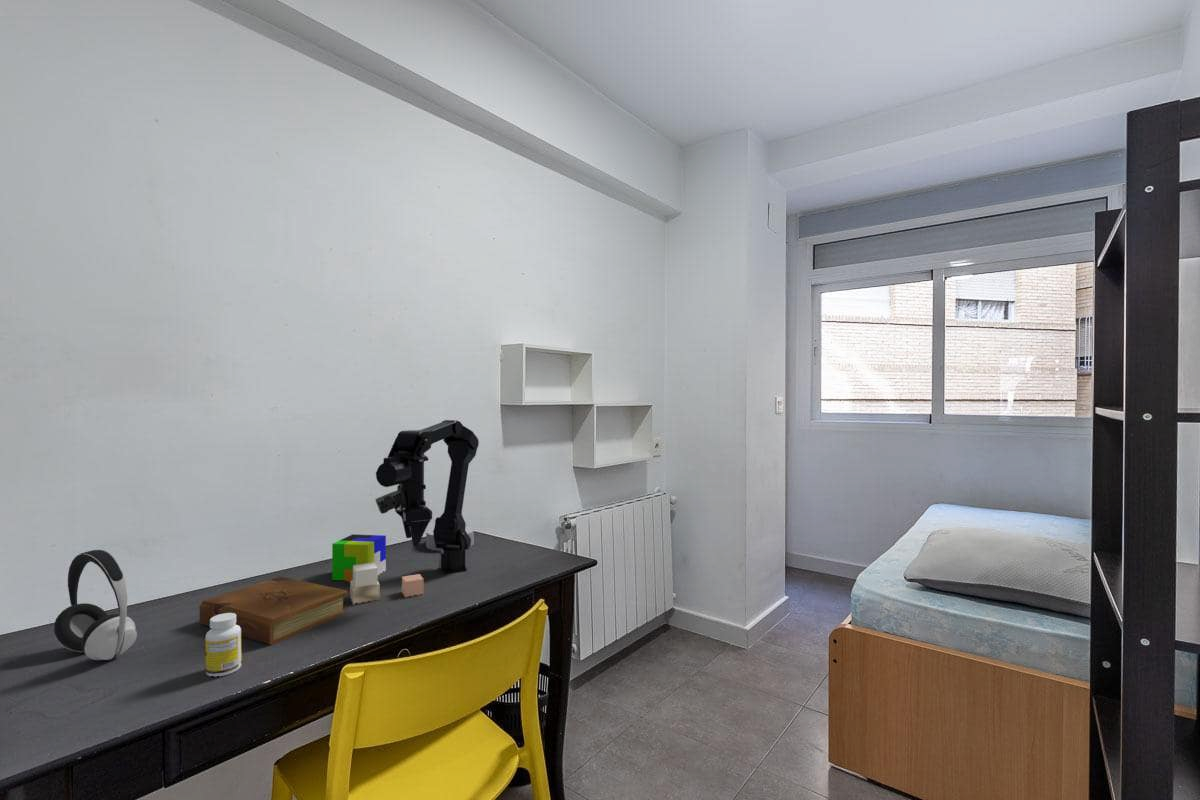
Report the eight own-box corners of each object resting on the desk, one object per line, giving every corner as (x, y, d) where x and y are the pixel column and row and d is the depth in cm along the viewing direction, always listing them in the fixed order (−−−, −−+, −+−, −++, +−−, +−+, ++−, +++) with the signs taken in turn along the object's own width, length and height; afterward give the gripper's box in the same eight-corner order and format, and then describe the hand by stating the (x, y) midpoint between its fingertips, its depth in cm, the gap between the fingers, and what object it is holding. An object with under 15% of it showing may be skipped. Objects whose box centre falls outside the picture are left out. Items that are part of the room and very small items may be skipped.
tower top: (374, 578, 141) (374, 562, 141) (377, 584, 137) (377, 567, 137) (352, 581, 138) (352, 565, 138) (355, 587, 134) (355, 571, 134)
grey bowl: (453, 537, 197) (453, 522, 197) (483, 544, 188) (483, 529, 188) (416, 546, 184) (416, 531, 184) (446, 554, 175) (446, 538, 175)
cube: (419, 589, 144) (419, 573, 144) (423, 594, 141) (423, 579, 140) (401, 592, 142) (401, 576, 142) (405, 597, 138) (405, 581, 138)
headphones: (149, 655, 107) (149, 551, 107) (94, 675, 99) (94, 563, 99) (96, 636, 115) (96, 539, 115) (42, 653, 107) (41, 550, 107)
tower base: (375, 592, 142) (375, 577, 142) (379, 600, 137) (379, 584, 136) (350, 597, 139) (350, 581, 139) (352, 605, 134) (353, 588, 134)
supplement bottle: (216, 663, 104) (216, 611, 104) (247, 662, 105) (247, 610, 104) (198, 678, 99) (198, 623, 99) (230, 677, 99) (230, 622, 99)
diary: (199, 628, 121) (199, 601, 121) (280, 599, 138) (280, 576, 138) (269, 648, 111) (269, 619, 111) (347, 614, 128) (347, 589, 128)
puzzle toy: (385, 570, 159) (385, 535, 159) (367, 582, 149) (367, 545, 149) (352, 569, 160) (352, 534, 160) (332, 580, 150) (332, 543, 150)
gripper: (373, 477, 145) (373, 537, 146) (383, 488, 129) (383, 556, 129) (417, 474, 151) (417, 532, 151) (432, 485, 134) (432, 549, 135)
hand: (411, 542), depth 141 cm, fingers open, 9 cm apart
